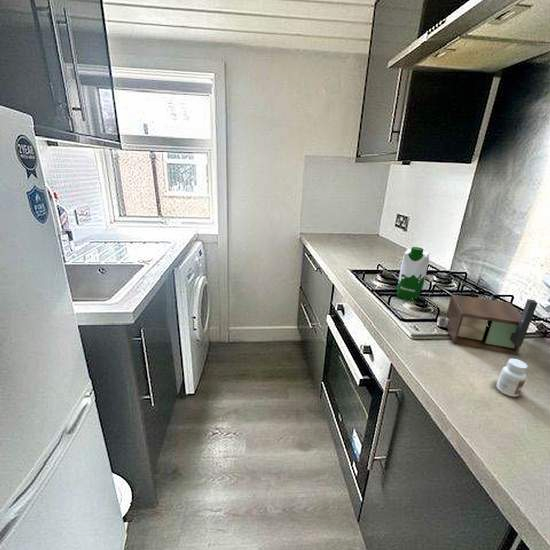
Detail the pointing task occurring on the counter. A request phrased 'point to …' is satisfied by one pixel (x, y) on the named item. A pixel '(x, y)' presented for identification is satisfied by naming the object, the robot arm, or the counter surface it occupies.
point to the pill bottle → (512, 377)
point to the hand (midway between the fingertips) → (542, 308)
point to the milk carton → (412, 273)
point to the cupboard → (479, 321)
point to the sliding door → (511, 329)
